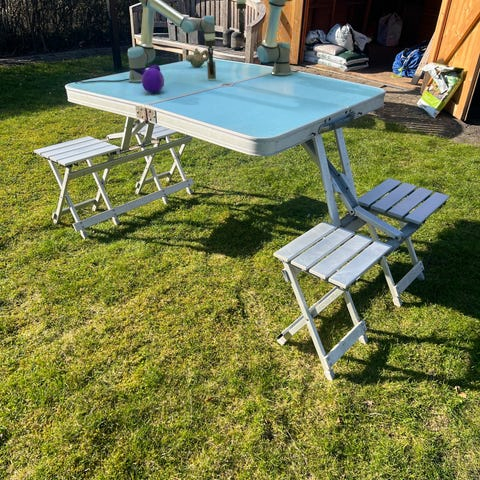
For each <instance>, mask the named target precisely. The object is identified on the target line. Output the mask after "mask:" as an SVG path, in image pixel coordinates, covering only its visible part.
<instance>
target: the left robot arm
mask: <svg viewBox="0 0 480 480" xmlns="http://www.w3.org/2000/svg"><path fill="white" fill-rule="evenodd" d="M138 1H139V2H140V4H141V6H142V19H141V28H140V29H141V30H140V41H139V42H137V46H132V47H129V48H128V49H127V57H128V66H129V76H128V78H124V79H118V80H117V79H116V80H115V79H114V80H107V79H105V80H104V79H99V80H97V79H96V80H88V81H86V80H85V81H82V80H76V81H75V82H74V84H77V83H82V84H88V83H99V82H100V83H101V82H103V83H105V82H106V83H115V82H116V83H118V82H119V83H120V82H125V81H126V82H127V81H128V82H129V83H133V84H142V76H143V75H141V74H139V73H137V72H135V71H134V70H147V67H146V65H147V64H150V63H152V62H153V61H154V60H155V58H156V50H155V49H154V48H155V45H154V43H153V37H154V27H155V26H154V25H155V15H156V12H157V13H159V14H160V15H161V16H163V17H164V18H166V19H168V20H169V21H170V22H172V23H173V24H175V25H176V26H177V27H179V28H180V29H181V30H182V31H183V32H184V33H185V34H191V33H194V32H198V31H200V32H204V34H203V37H204V46H205V47H208V48H207V51H208V55H209V59H208V61H210V64H209V65H210V75H212V74H214V71H213V61H214V48H213V47H215V46H216V25H215V17H214V16H213V15H204V16H203V18H188V17H186V16H185V15H183V14H182V13H180V12H179V11H177V10H176V9H175V8H173V7H172V6H170V5H169V4H167V3H166V2H164V1H163V0H138Z"/></svg>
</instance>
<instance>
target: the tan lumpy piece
mask: <svg viewBox="0 0 480 480" xmlns="http://www.w3.org/2000/svg"><path fill="white" fill-rule="evenodd" d="M204 54H205V56H204ZM185 60H186V62H188V63H190V65H191V67H192V68H193V67H194V68H200V67H202V66H203V65H204V64H205V63H206V62H207V61H209V55H208V49H204V50H202V51H200V50H199V49H198V48H195V49H194V51H193V54H191V53H190V54H187V56H186V57H185Z"/></svg>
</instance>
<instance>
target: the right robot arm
mask: <svg viewBox="0 0 480 480" xmlns="http://www.w3.org/2000/svg"><path fill="white" fill-rule="evenodd" d="M267 1H268V5H269V11H268V16H267V22H266V29H265V33H264V40H262V41H261V45H259V46H258V47H257V49H256V55H257V58H258V60H259V61H260V62H261V63H271V62H272V63H273V62H274V64H273V68H272V71H271V75H272V76H276V77H288V76H291V75H292V72H293V73H297V72H300V70H299V69H297V70H293V69H292V68H291V65H290V64H291V63H290V62H291V61H290V59H291V45H290V43H288V42H281V41H277V37H278V32H279V27H280V21H281V15H282V10H283V8H284V7H285V6H286V2H292V1H293V0H267ZM235 2H236V4H235V5H236V9H237V10H238V33H240V35H245V9H247V0H236V1H235Z"/></svg>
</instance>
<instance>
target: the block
mask: <svg viewBox="0 0 480 480" xmlns="http://www.w3.org/2000/svg"><path fill="white" fill-rule="evenodd" d="M209 64H210V61H209V60H207V61H206V67H207V68H206V70H207V80H216V79H217V71H216V70H217V69H216V60H213V71H214V74H212V75H210V65H209Z"/></svg>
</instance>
